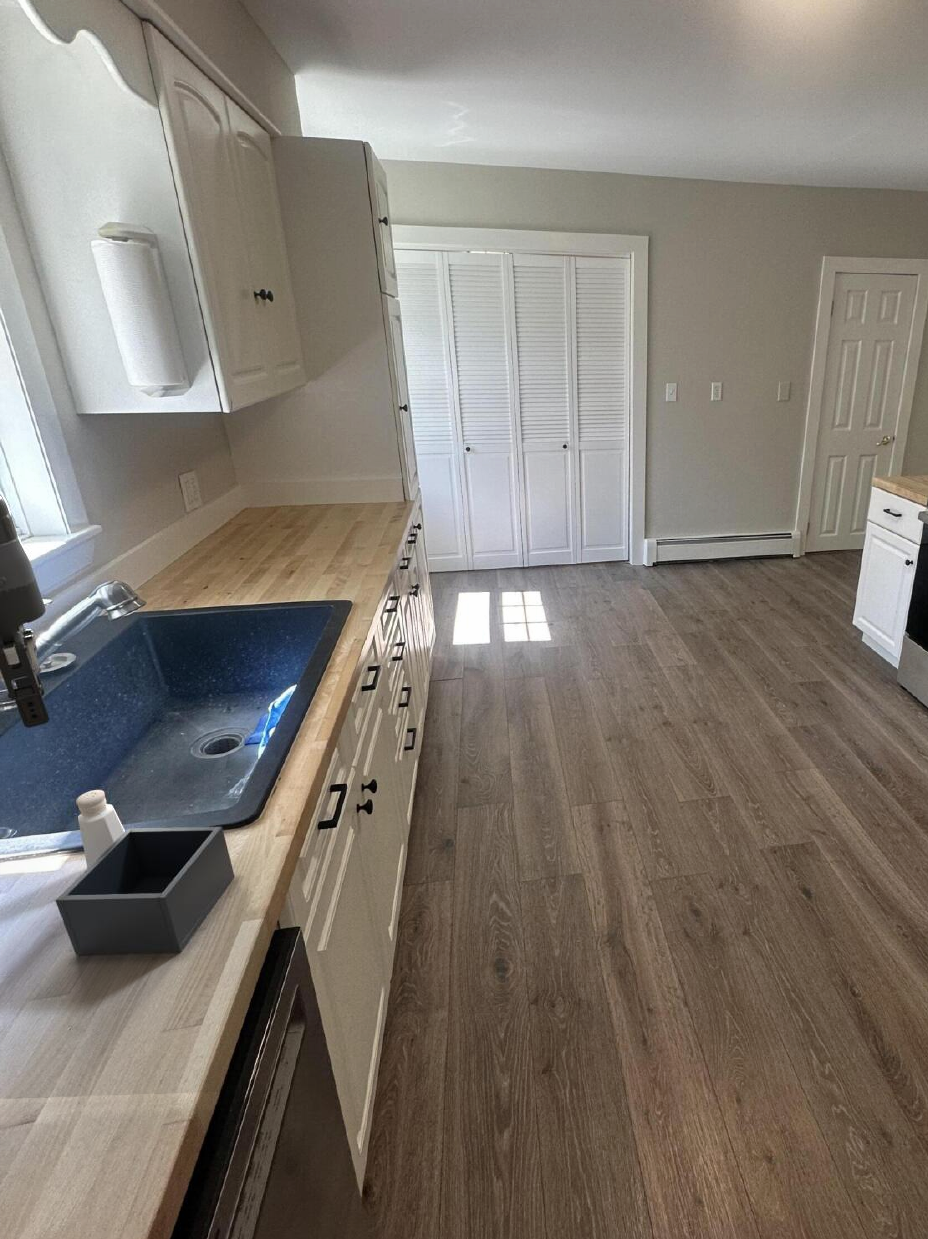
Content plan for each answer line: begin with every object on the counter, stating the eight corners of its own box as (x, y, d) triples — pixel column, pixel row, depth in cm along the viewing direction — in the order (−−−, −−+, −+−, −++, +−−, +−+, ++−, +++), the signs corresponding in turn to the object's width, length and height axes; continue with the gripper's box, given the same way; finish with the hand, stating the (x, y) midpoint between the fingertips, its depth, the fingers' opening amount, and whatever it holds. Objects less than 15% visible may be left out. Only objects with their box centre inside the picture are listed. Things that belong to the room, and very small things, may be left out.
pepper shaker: (96, 857, 87) (72, 787, 83) (144, 847, 89) (123, 778, 85) (79, 886, 82) (53, 813, 78) (131, 875, 84) (107, 804, 80)
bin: (75, 955, 73) (54, 900, 70) (143, 878, 83) (127, 828, 81) (181, 952, 73) (164, 897, 70) (235, 876, 84) (222, 826, 81)
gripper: (-55, 574, 75) (-8, 699, 81) (-61, 607, 66) (-6, 747, 71) (31, 561, 80) (70, 680, 86) (38, 589, 70) (81, 722, 76)
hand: (35, 710), depth 78 cm, fingers open, 8 cm apart
